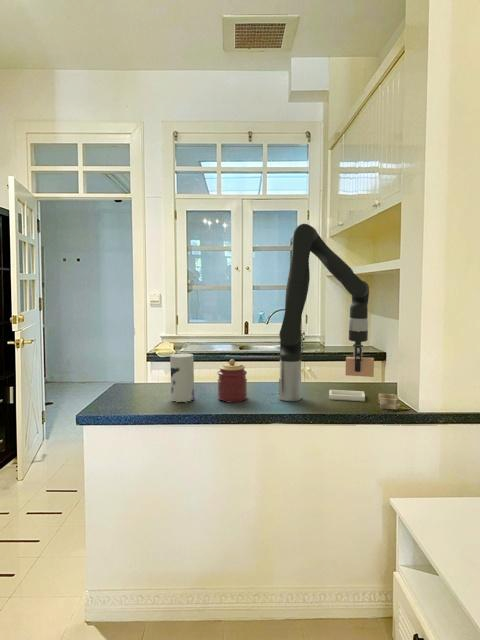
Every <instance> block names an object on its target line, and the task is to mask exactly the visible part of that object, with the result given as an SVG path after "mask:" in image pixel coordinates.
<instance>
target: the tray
mask: <svg viewBox="0 0 480 640" xmlns="http://www.w3.org/2000/svg"><path fill="white" fill-rule="evenodd" d="M328 391H329V392H328V400H334V401H335V400H336V401H351V402H352V401H353V402H354V401H355V402H365V401H366V396H365V391H362V390H361V391H360V390H344V389H342V390H339V389H329V390H328Z"/></svg>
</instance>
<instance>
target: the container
mask: <svg viewBox="0 0 480 640" xmlns="http://www.w3.org/2000/svg"><path fill="white" fill-rule="evenodd" d="M169 359H170V360H169V361H170V365H169V366H170V390H171V391H170V399H172V400H174V401H189V400H192V399H194V400H195V376H194V372H195V370H194V369H195V368H194V362H195V361H194V354H193V353H173V354H170V357H169ZM172 400H171V401H172Z"/></svg>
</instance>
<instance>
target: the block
mask: <svg viewBox="0 0 480 640" xmlns="http://www.w3.org/2000/svg"><path fill="white" fill-rule="evenodd" d="M356 359H360V357H356ZM354 360H355V357H354V356H346V357H345V376H347V377H348V376H352V377H366V378H374V375H375V374H374V372H375V371H374V369H375V357H369V356H368V357H366V356H362V357H361V360H362V361H361V369H360V372H356V371H355V362H354Z"/></svg>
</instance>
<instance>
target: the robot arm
mask: <svg viewBox="0 0 480 640" xmlns="http://www.w3.org/2000/svg"><path fill="white" fill-rule="evenodd" d="M324 241H325V240H323V239H322V237H321V236H320V235H319V233H318V231H317V230H316V228H315V227H313V226H312V225H311V224H309V223H301V224H299V225H298V226H296V227H295V229H294V231H293V234H292V251H291V253H292V254H291V260H290V265H289V270H288V277H287V282H286V288H285V289H286V290H285V299H284V303H285V304H284V314H283V315H284V316H283V319H282V323H281V327H280V330H279V335H278V336H279V339H280V340H279V347H280V349H279V378H278V400H280V401H286V402H296V401H300V400H301V399H302V318H303V311H304V309H305V304H306V301H307V299H308V298H307V297H308V292H309V287H310V280H311V279H310V277H311V276H310V275H311V272H310V254H311V253H312V254H313V255H314V256H316V257H317V259H318V260H319V261H320V262H321V263H322V264H323V266H324V267H325V268H326V270H328V272H329V273H330V274H331V275H332V276H333V277H334V278H335V279H336V280H338V281H339V282H340V284H341V285H342V286H343V287H344V288H345V290H346V291H347V292H348V293H349V294H350V295H351V305H350V308H349V322H348V340H349V341H350V342H354V343H353V344H352V353H353V355H352V356H353V357H355V360H354V362H355V371H356V372H360V369H361V361H362V360H361V357H363V351H364V345H363V344H362V342H367V341H368V339H369V338H368V337H369V335H368V334H369V321H368V313H369V312H368V311H369V309H368V303H369V299H370V298H369V297H370V296H369V295H370V287H369V284H368V283H367V281H365V280H362V279H361V278H360V277H359V276H358V275H356V274H355V273H354V270H353V269H352V268H351V267H350V266H349V265H348V264H347V263H346V262H345V261H344V260H343V259H342V258H341V257H340V255H337V254H336V253H335V252H334V251H333V250H332V249H331V248H330V247H329V246H328V245H327V244H326V243H325V242H324ZM356 357H360V359H356Z"/></svg>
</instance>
